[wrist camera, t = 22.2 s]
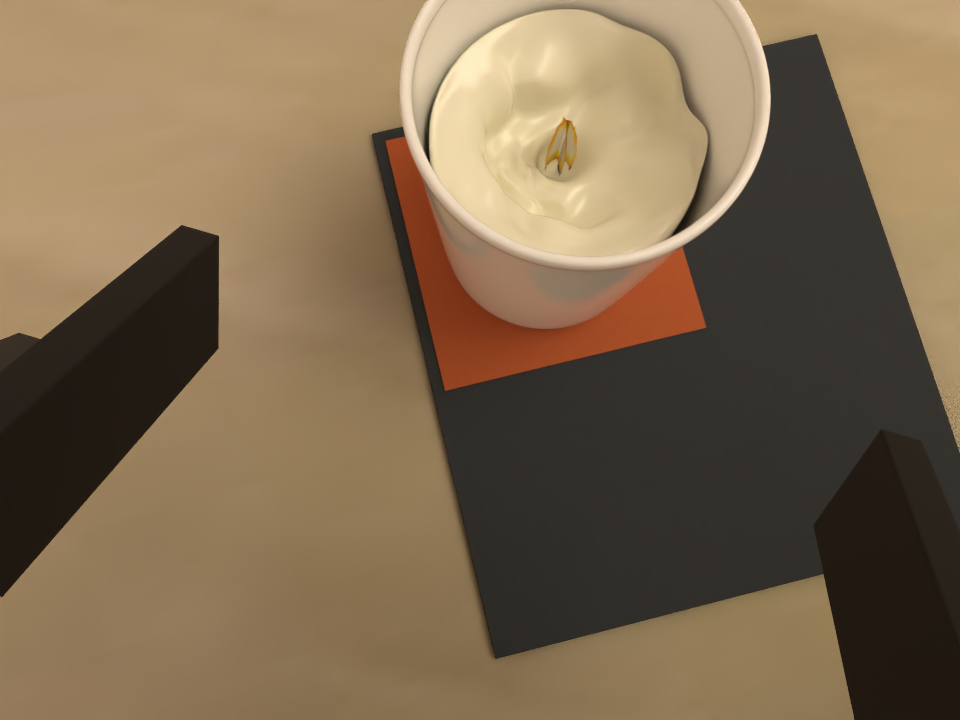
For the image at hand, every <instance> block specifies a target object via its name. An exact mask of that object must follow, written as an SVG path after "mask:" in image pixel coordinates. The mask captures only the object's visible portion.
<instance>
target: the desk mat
mask: <svg viewBox="0 0 960 720" xmlns="http://www.w3.org/2000/svg"><path fill="white" fill-rule="evenodd" d="M762 48H763V51H764V54H765V58H766V62H767V67H768V73H769V80H770V92H771V106H770V118H769V125H768V130H767V135H766V139H765V143H764V146H763V150H762V153H761V155H760V158H759V160H758V163H757V165H756V167H755V169H754V172H753V174H752V175H751V177H750V179H749V181H748V183H747V184H746V186H745V187H744V189H743V191H742V192H741V193H740V195H739V196H738V198H737V199H736V200H735V202H734V203H733V204H732V205H731V206H730V208H729V209H728V210H727V211H726V212H725V213H724V214H723V215H722V216H721V217H720V218H719V219H718V220H717V221H716V222H715V223H714V224H713V225H712V226H710V227H709V228H708V229H707V230H706V231H704V232H703V233H702V234H700V235H699V236H698V237H696V238H695V239H693V240H692V241H690V242H688V243H687V244H685V245H684V246H682V247H681V248H680V249H679V250H678V251H677V252H675V253H674V254H673V255H672V256H671V257H670V258H668V259H667V260H666V261H665V262H664V263H663V264H661V265H660V266H659V267H658V268H657V269H656V270H654V271H653V272H652V273H651V274H650V275H649V276H647V277H646V278H645V279H644V280H643V281H642V282H640V283H639V284H638V285H637V286H636V287H635V288H633V289H632V290H631V291H630V292H629V293H627V294H626V295H625V296H624V297H623V298H621V299H620V300H619V301H618V302H617V303H615V304H614V305H613V306H611V307H610V308H609V309H607V310H606V311H604V312H603V313H601V314H599V315H598V316H596V317H594V318H592V319H590V320H588V321H585V322H583V323H580V324H577V325H573V326H569V327H565V328H558V329H534V328H527V327H522V326H518V325H515V324H512V323H509V322H507V321H504V320H502V319H500V318H498V317H496V316H494V315H493V314H491V313H489V312H488V311H486V310H485V309H484V308H482V307H481V306H480V305H479V304H477V303H476V302H475V301H474V300H473V299H472V298H471V297H470V296H469V295H468V293H467V292H466V291H465V290H464V289H463V287H462V286H461V284H460V283H459V281H458V280H457V278H456V276H455V275H454V273H453V271H452V269H451V266H450V264H449V262H448V259H447V256H446V254H445V251H444V248H443V245H442V242H441V239H440V236H439V233H438V229H437V226H436V223H435V220H434V217H433V214H432V210H431V207H430V204H429V201H428V198H427V194H426V191H425V188H424V185H423V182H422V179H421V175H420V172H419V170H418V168H417V166H416V164H415V162H414V160H413V157H412V155H411V152H410V150H409V147H408V144H407V141H406V137H405V134H404V130H403V127H401V128H396V129H392V130H387V131H383V132H378V133H374V134H372V138H373V142H374V146H375V150H376V155H377V159H378V163H379V167H380V172H381V176H382V180H383V184H384V189H385V193H386V197H387V201H388V205H389V210H390V214H391V218H392V222H393V227H394V231H395V235H396V239H397V243H398V248H399V252H400V256H401V260H402V265H403V269H404V273H405V277H406V282H407V286H408V290H409V294H410V298H411V303H412V307H413V311H414V315H415V320H416V324H417V328H418V332H419V336H420V341H421V345H422V349H423V353H424V358H425V362H426V366H427V370H428V375H429V379H430V383H431V387H432V391H433V396H434V400H435V404H436V408H437V413H438V417H439V421H440V425H441V429H442V434H443V438H444V442H445V446H446V451H447V455H448V459H449V463H450V467H451V472H452V476H453V480H454V484H455V489H456V493H457V497H458V501H459V506H460V510H461V514H462V518H463V522H464V527H465V531H466V535H467V539H468V544H469V548H470V552H471V556H472V560H473V565H474V569H475V573H476V577H477V582H478V586H479V590H480V594H481V599H482V603H483V607H484V611H485V615H486V620H487V624H488V628H489V632H490V637H491V641H492V645H493V649H494V653H495V658H496V659H497V658H501V657H505V656H509V655H512V654H516V653H520V652H524V651H528V650H532V649H536V648H539V647H543V646H547V645H551V644H555V643H559V642H562V641H566V640H570V639H574V638H578V637H582V636H586V635H589V634H593V633H597V632H601V631H605V630H609V629H613V628H616V627H620V626H624V625H628V624H632V623H636V622H640V621H643V620H647V619H651V618H655V617H659V616H663V615H667V614H670V613H674V612H678V611H682V610H686V609H690V608H694V607H697V606H701V605H705V604H709V603H713V602H717V601H720V600H724V599H728V598H732V597H736V596H740V595H744V594H747V593H751V592H755V591H759V590H763V589H767V588H771V587H774V586H778V585H782V584H786V583H790V582H794V581H798V580H801V579H805V578H809V577H813V576H817V575H821V574H824V573H823V568H822V564H821V559H820V554H819V550H818V545H817V540H816V535H815V531H814V526H813V525H814V523H815V522H816V520H817V519H818V518H819V516H820V515H821V513H822V512H823V511H824V509H825V508H826V506H827V505H828V503H829V502H830V501H831V499H832V498H833V496H834V495H835V494H836V492H837V491H838V489H839V488H840V486H841V485H842V484H843V482H844V481H845V479H846V478H847V477H848V475H849V474H850V472H851V471H852V469H853V468H854V467H855V465H856V464H857V462H858V461H859V460H860V458H861V457H862V455H863V454H864V452H865V451H866V450H867V448H868V447H869V445H870V444H871V443H872V441H873V440H874V438H875V437H876V435H877V434H878V433H879V431H880V430H881V429H884V430H888V431H891V432H895V433H898V434H901V435H905V436H908V437H912V438H915V439H919V440H922V443H923V445H924V448H925V450H926V452H927V455H928V457H929V460H930V462H931V464H932V467H933V469H934V471H935V474H936V476H937V479H938V481H939V483H940V486H941V488H942V490H943V493H944V495H945V498H946V500H947V502H948V505H949V507H950V509H951V512H952V514H953V517H954V519H955V521H956V524H957V526H958V529H959V531H960V452H959V449H958V447H957V444H956V441H955V438H954V435H953V432H952V429H951V426H950V423H949V420H948V417H947V414H946V411H945V408H944V406H943V403H942V400H941V397H940V394H939V391H938V388H937V385H936V382H935V379H934V376H933V373H932V370H931V367H930V364H929V362H928V359H927V356H926V353H925V350H924V347H923V344H922V341H921V338H920V335H919V332H918V329H917V326H916V323H915V321H914V318H913V315H912V312H911V309H910V306H909V303H908V300H907V297H906V294H905V291H904V288H903V285H902V282H901V279H900V277H899V274H898V271H897V268H896V265H895V262H894V259H893V256H892V253H891V250H890V247H889V244H888V241H887V238H886V236H885V233H884V230H883V227H882V224H881V221H880V218H879V215H878V212H877V209H876V206H875V203H874V200H873V197H872V195H871V192H870V189H869V186H868V183H867V180H866V177H865V174H864V171H863V168H862V165H861V162H860V159H859V156H858V153H857V151H856V148H855V145H854V142H853V139H852V136H851V133H850V130H849V127H848V124H847V121H846V118H845V115H844V112H843V110H842V107H841V104H840V101H839V98H838V95H837V92H836V89H835V86H834V83H833V80H832V77H831V74H830V71H829V68H828V66H827V63H826V60H825V57H824V54H823V51H822V48H821V45H820V42H819V39H818V36H817V34H815V35H810V36H806V37H802V38H797V39H793V40H788V41H784V42H779V43H775V44H770V45H766V46H762Z"/></svg>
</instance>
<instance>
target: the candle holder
mask: <svg viewBox="0 0 960 720" xmlns="http://www.w3.org/2000/svg"><path fill="white" fill-rule="evenodd" d="M399 103H400V113H401V120H402V125H403V130H404V134H405V137H406V141H407V144H408V147H409V150H410V152H411V155H412V157H413V160H414V162H415V164H416V166H417V168H418V170H419V172H420V175H421V179H422V182H423V185H424V188H425V191H426V194H427V198H428V201H429V204H430V207H431V210H432V214H433V217H434V220H435V223H436V226H437V229H438V233H439V236H440V239H441V242H442V245H443V248H444V251H445V254H446V256H447V259H448V262H449V264H450V266H451V269H452V271H453V273H454V275H455V276H456V278H457V280H458V281H459V283H460V284H461V286H462V287H463V289H464V290H465V291H466V292H467V293H468V295H469V296H470V297H471V298H472V299H473V300H474V301H475V302H476V303H477V304H479V305H480V306H481V307H482V308H484V309H485V310H486V311H488V312H489V313H491V314H493V315H494V316H496V317H498V318H500V319H502V320H504V321H507V322H509V323H512V324H515V325H518V326H522V327H527V328H534V329H558V328H565V327H569V326H573V325H577V324H580V323H583V322H585V321H588V320H590V319H592V318H594V317H596V316H598V315H599V314H601V313H603V312H604V311H606V310H607V309H609V308H610V307H611V306H613V305H614V304H615V303H617V302H618V301H619V300H620V299H621V298H623V297H624V296H625V295H626V294H627V293H629V292H630V291H631V290H632V289H633V288H635V287H636V286H637V285H638V284H639V283H640V282H642V281H643V280H644V279H645V278H646V277H647V276H649V275H650V274H651V273H652V272H653V271H654V270H656V269H657V268H658V267H659V266H660V265H661V264H663V263H664V262H665V261H666V260H667V259H668V258H670V257H671V256H672V255H673V254H674V253H675V252H677V251H678V250H679V249H680V248H681V247H682V246H684V245H685V244H687V243H688V242H690V241H692V240H693V239H695V238H696V237H698V236H699V235H700V234H702V233H703V232H704V231H706V230H707V229H708V228H709V227H710V226H712V225H713V224H714V223H715V222H716V221H717V220H718V219H719V218H720V217H721V216H722V215H723V214H724V213H725V212H726V211H727V210H728V209H729V208H730V206H731V205H732V204H733V203H734V202H735V200H736V199H737V198H738V196H739V195H740V193H741V192H742V191H743V189H744V187H745V186H746V184H747V183H748V181H749V179H750V177H751V175H752V174H753V172H754V169H755V167H756V165H757V163H758V160H759V158H760V155H761V153H762V150H763V146H764V143H765V139H766V135H767V130H768V125H769V118H770V106H771V92H770V80H769V73H768V67H767V62H766V58H765V54H764V51H763V48H762V45H761V42H760V39H759V37H758V34H757V32H756V30H755V27H754V25H753V23H752V21H751V20H750V18H749V16H748V14H747V12H746V11H745V9H744V8H743V6H742V5H741V3H740V2H739V0H426V2H425V3H424V5H423V7H422V8H421V10H420V12H419V14H418V15H417V17H416V19H415V22H414V24H413V26H412V28H411V31H410V34H409V36H408V39H407V42H406V46H405V49H404V53H403V58H402V63H401V69H400V79H399Z"/></svg>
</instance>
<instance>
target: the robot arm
mask: <svg viewBox="0 0 960 720" xmlns="http://www.w3.org/2000/svg"><path fill="white" fill-rule="evenodd" d="M218 324H219V236H217V235H214V234H210V233H207V232H203V231H200V230H197V229H193V228H190V227H186V226H183V225H181V226H180V227H179V228H178V229H176V230H175V231H174V232H173V233H171V234H170V235H169V236H168V237H166V238H165V239H164V240H163V241H161V242H160V243H159V244H158V245H157V246H155V247H154V248H153V249H152V250H150V251H149V252H148V253H147V254H145V255H144V256H143V257H142V258H140V259H139V260H138V261H137V262H136V263H134V264H133V265H132V266H131V267H129V268H128V269H127V270H126V271H124V272H123V273H122V274H121V275H119V276H118V277H117V278H116V279H115V280H113V281H112V282H111V283H110V284H108V285H107V286H106V287H105V288H103V289H102V290H101V291H100V292H98V293H97V294H96V295H95V296H93V297H92V298H91V299H90V300H89V301H87V302H86V303H85V304H84V305H82V306H81V307H80V308H79V309H77V310H76V311H75V312H74V313H72V314H71V315H70V316H69V317H68V318H66V319H65V320H64V321H63V322H61V323H60V324H59V325H58V326H56V327H55V328H54V329H53V330H51V331H50V332H49V333H48V334H47V335H45V336H44V337H43V338H42V339H38V338H34V337H31V336H28V335H24V334H21V333H17V334H15V335H12V336H10V337H7V338H5V339H2V340H0V597H3V596H4V594H5V593H6V592H7V591H8V590H9V589H10V588H11V586H12V585H13V584H14V583H15V582H16V581H17V579H18V578H19V577H20V576H21V575H22V574H23V573H24V571H25V570H26V569H27V568H28V567H29V566H30V565H31V563H32V562H33V561H34V560H35V559H36V558H37V556H38V555H39V554H40V553H41V552H42V551H43V550H44V548H45V547H46V546H47V545H48V544H49V543H50V541H51V540H52V539H53V538H54V537H55V536H56V535H57V533H58V532H59V531H60V530H61V529H62V528H63V527H64V525H65V524H66V523H67V522H68V521H69V520H70V518H71V517H72V516H73V515H74V514H75V513H76V512H77V510H78V509H79V508H80V507H81V506H82V505H83V504H84V502H85V501H86V500H87V499H88V498H89V497H90V495H91V494H92V493H93V492H94V491H95V490H96V489H97V487H98V486H99V485H100V484H101V483H102V482H103V481H104V479H105V478H106V477H107V476H108V475H109V474H110V472H111V471H112V470H113V469H114V468H115V467H116V466H117V464H118V463H119V462H120V461H121V460H122V459H123V457H124V456H125V455H126V454H127V453H128V452H129V451H130V449H131V448H132V447H133V446H134V445H135V444H136V443H137V441H138V440H139V439H140V438H141V437H142V436H143V434H144V433H145V432H146V431H147V430H148V429H149V428H150V426H151V425H152V424H153V423H154V422H155V421H156V420H157V418H158V417H159V416H160V415H161V414H162V413H163V411H164V410H165V409H166V408H167V407H168V406H169V405H170V403H171V402H172V401H173V400H174V399H175V398H176V397H177V395H178V394H179V393H180V392H181V391H182V390H183V388H184V387H185V386H186V385H187V384H188V383H189V382H190V380H191V379H192V378H193V377H194V376H195V375H196V373H197V372H198V371H199V370H200V369H201V368H202V367H203V365H204V364H205V363H206V362H207V361H208V360H209V359H210V357H211V356H212V355H213V354H214V353H215V352H216V350H217V349H218ZM813 526H814V531H815V535H816V540H817V545H818V550H819V554H820V559H821V564H822V568H823V573H824V578H825V582H826V587H827V592H828V597H829V601H830V606H831V611H832V615H833V620H834V625H835V630H836V634H837V639H838V644H839V648H840V653H841V658H842V662H843V667H844V672H845V677H846V681H847V686H848V691H849V695H850V700H851V705H852V709H853V714H854V719H855V720H960V531H959V529H958V526H957V524H956V521H955V519H954V517H953V514H952V512H951V509H950V507H949V505H948V502H947V500H946V498H945V495H944V493H943V490H942V488H941V486H940V483H939V481H938V479H937V476H936V474H935V471H934V469H933V467H932V464H931V462H930V460H929V457H928V455H927V452H926V450H925V448H924V445H923V443H922V440H919V439H915V438H912V437H908V436H905V435H901V434H898V433H895V432H891V431H888V430H884V429H881V430H880V431H879V433H878V434H877V435H876V437H875V438H874V440H873V441H872V443H871V444H870V445H869V447H868V448H867V450H866V451H865V452H864V454H863V455H862V457H861V458H860V460H859V461H858V462H857V464H856V465H855V467H854V468H853V469H852V471H851V472H850V474H849V475H848V477H847V478H846V479H845V481H844V482H843V484H842V485H841V486H840V488H839V489H838V491H837V492H836V494H835V495H834V496H833V498H832V499H831V501H830V502H829V503H828V505H827V506H826V508H825V509H824V511H823V512H822V513H821V515H820V516H819V518H818V519H817V520H816V522H815V523H814V525H813Z"/></svg>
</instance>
